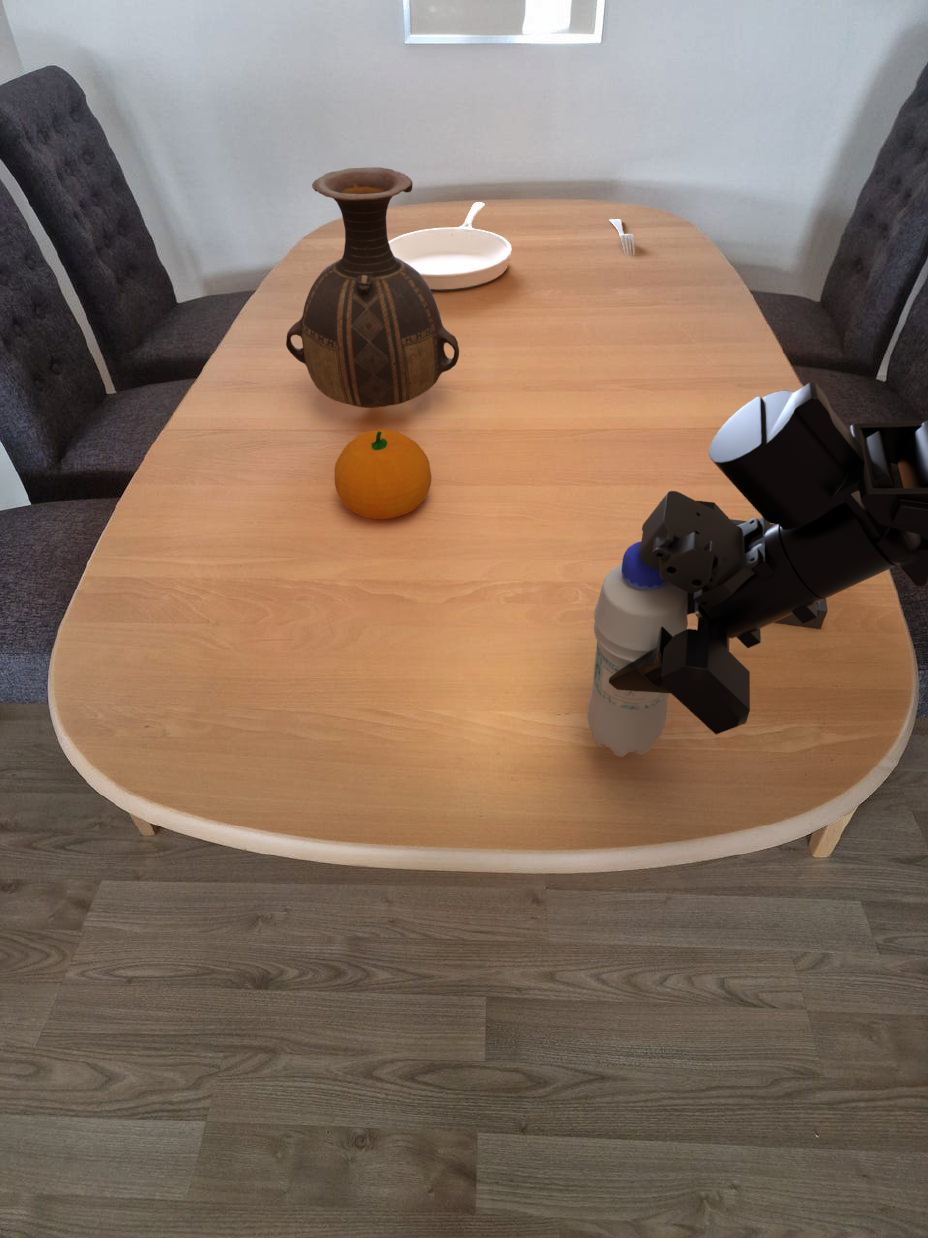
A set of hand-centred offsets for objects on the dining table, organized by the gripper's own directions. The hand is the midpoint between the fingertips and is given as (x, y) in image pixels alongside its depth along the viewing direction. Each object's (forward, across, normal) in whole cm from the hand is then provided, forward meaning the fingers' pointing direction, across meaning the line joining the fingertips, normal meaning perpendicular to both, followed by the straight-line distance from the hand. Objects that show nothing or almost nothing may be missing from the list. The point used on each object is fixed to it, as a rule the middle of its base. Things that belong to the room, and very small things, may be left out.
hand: (617, 653), depth 62 cm
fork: (+18, -131, +1) cm, 132 cm away
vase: (+37, -56, -18) cm, 69 cm away
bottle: (+6, 0, +8) cm, 10 cm away
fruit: (+31, -33, -13) cm, 47 cm away
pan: (+40, -115, -21) cm, 123 cm away
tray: (0, -28, +19) cm, 33 cm away
